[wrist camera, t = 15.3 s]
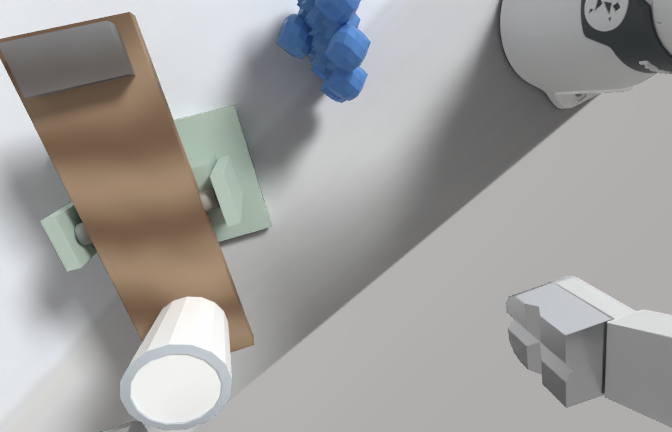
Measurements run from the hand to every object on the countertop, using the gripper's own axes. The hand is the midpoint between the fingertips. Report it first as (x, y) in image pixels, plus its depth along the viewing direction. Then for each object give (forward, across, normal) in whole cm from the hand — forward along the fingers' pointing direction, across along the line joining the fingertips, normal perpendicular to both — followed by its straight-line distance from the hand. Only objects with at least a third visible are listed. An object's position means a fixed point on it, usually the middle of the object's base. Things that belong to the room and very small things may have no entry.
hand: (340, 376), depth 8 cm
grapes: (+31, -6, -9) cm, 33 cm away
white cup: (+22, +10, +10) cm, 27 cm away
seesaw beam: (+23, +10, +1) cm, 25 cm away
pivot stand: (+31, +10, +1) cm, 33 cm away
